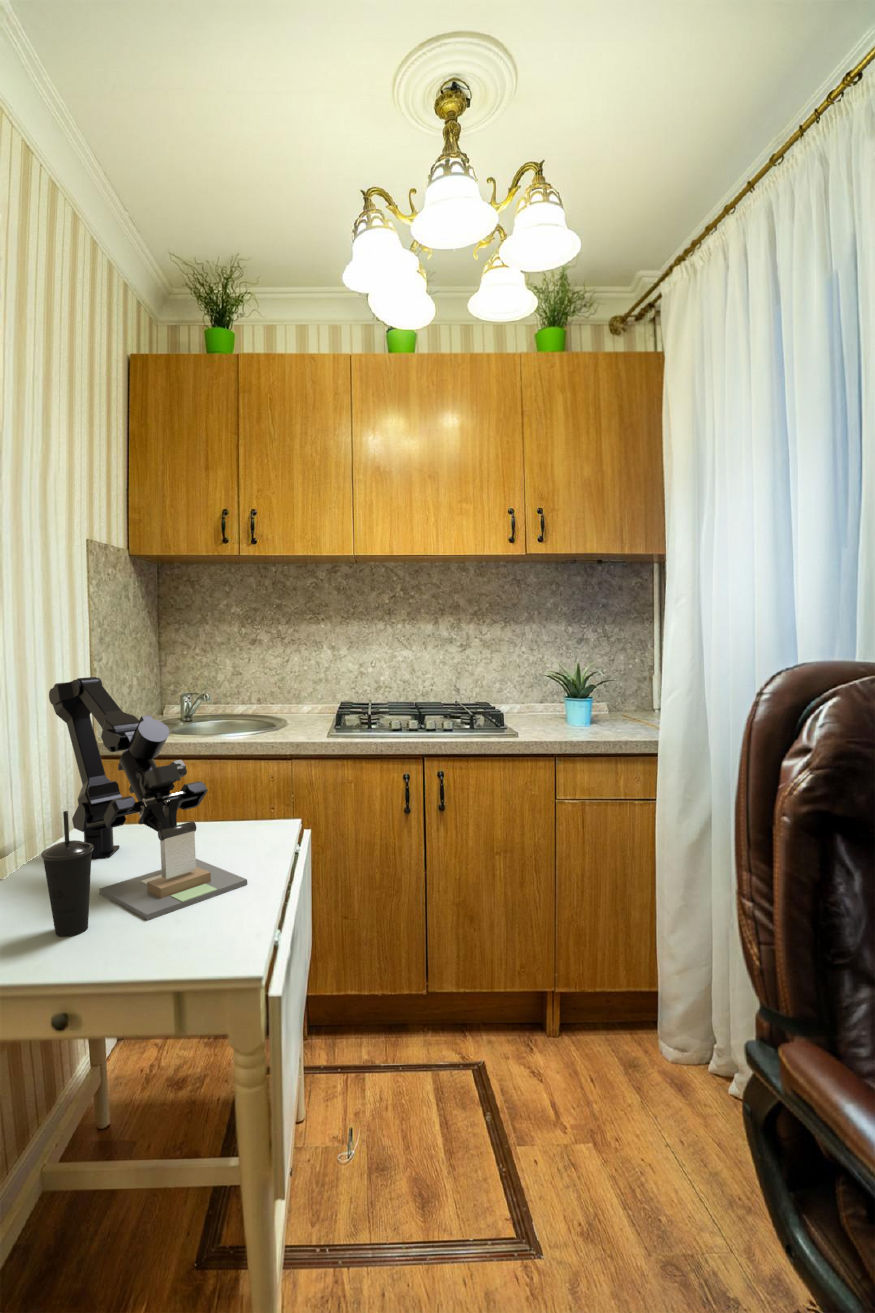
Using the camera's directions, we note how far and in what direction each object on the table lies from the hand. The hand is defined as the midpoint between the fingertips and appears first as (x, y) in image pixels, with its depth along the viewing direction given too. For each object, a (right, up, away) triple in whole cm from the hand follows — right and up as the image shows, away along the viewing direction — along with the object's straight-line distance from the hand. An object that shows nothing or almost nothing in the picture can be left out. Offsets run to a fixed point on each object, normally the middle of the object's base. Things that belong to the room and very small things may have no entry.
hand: (175, 840), depth 133 cm
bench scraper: (+1, -7, 0) cm, 7 cm away
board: (-1, -10, +1) cm, 10 cm away
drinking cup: (-11, -11, -15) cm, 22 cm away
